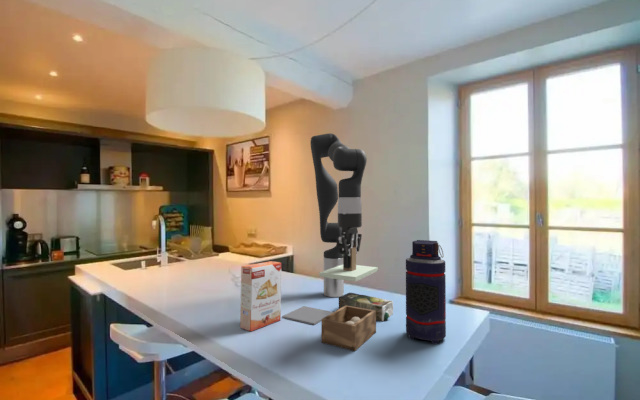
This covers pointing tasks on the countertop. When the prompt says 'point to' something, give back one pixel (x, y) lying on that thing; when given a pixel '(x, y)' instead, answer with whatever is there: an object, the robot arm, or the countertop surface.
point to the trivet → (307, 315)
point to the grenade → (425, 292)
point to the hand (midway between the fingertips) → (349, 266)
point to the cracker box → (260, 295)
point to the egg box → (348, 327)
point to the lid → (349, 270)
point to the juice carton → (368, 304)
